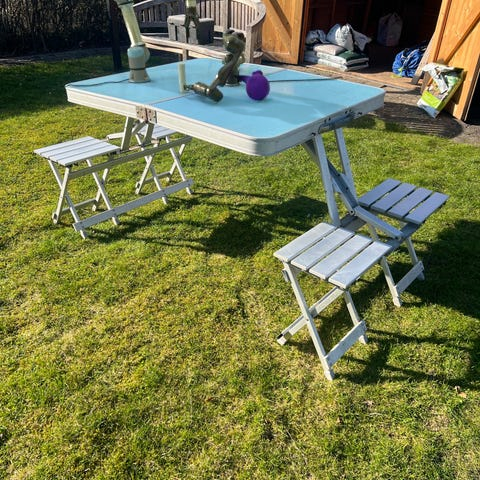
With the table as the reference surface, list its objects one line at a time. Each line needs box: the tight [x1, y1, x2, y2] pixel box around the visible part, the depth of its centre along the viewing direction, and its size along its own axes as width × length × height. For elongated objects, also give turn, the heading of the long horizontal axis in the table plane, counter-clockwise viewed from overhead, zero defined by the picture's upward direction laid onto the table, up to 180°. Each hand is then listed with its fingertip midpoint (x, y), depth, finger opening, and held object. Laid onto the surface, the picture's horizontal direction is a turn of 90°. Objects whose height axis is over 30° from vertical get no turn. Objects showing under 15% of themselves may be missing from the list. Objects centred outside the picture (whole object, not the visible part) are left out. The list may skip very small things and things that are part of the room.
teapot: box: [221, 52, 246, 69], centre depth 368 cm, size 21×12×15 cm, turn 120°
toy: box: [233, 69, 271, 102], centre depth 280 cm, size 16×18×27 cm
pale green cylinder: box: [177, 66, 188, 94], centre depth 299 cm, size 4×4×18 cm
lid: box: [177, 62, 186, 69], centre depth 295 cm, size 5×5×2 cm
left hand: (193, 38), depth 336 cm, fingers open, 13 cm apart
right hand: (190, 85), depth 293 cm, fingers open, 8 cm apart
